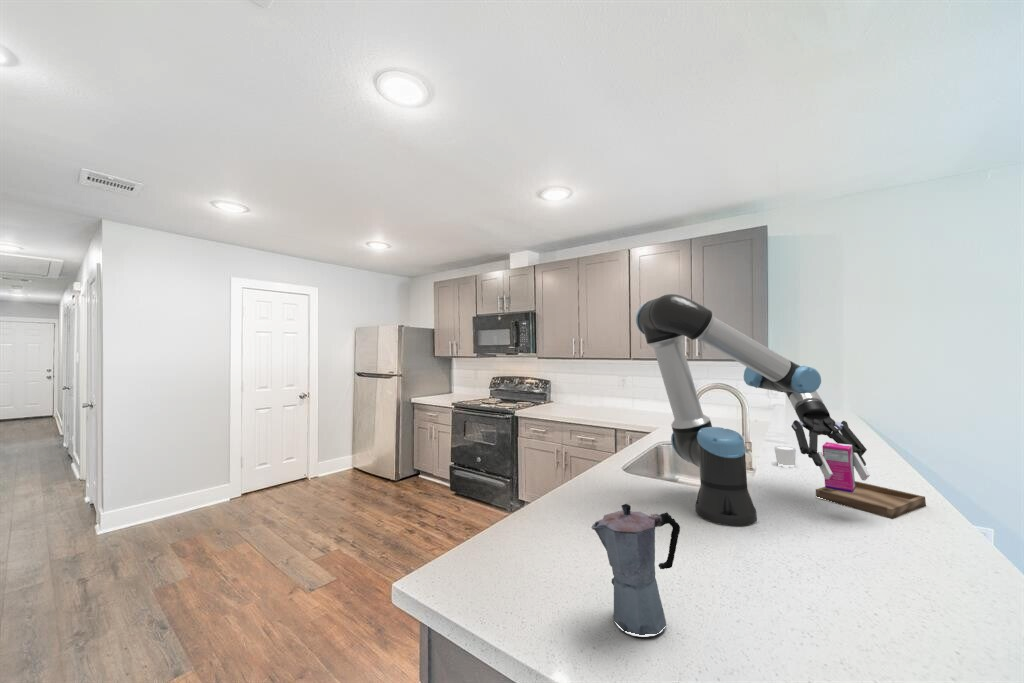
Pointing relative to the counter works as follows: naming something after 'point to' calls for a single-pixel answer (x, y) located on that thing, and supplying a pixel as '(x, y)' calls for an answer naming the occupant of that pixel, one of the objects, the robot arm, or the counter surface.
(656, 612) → the moka pot
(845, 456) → the supplement box
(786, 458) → the shot glass
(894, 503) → the walnut tray
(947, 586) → the counter surface
